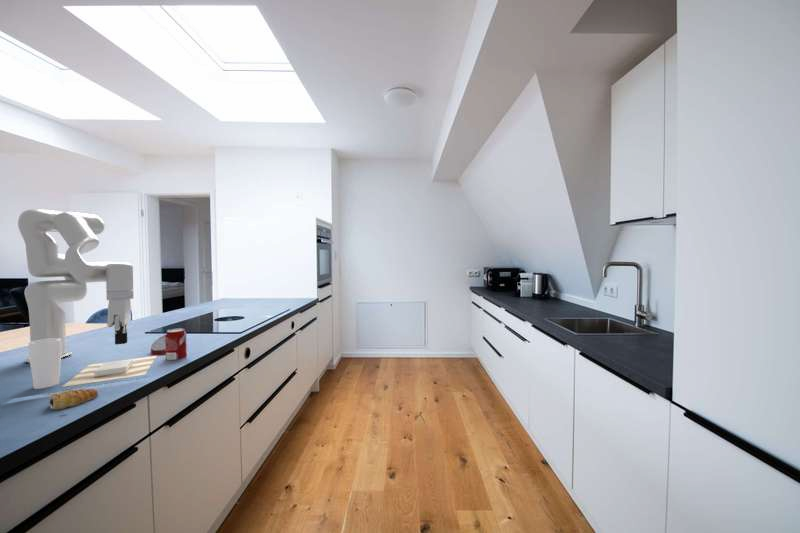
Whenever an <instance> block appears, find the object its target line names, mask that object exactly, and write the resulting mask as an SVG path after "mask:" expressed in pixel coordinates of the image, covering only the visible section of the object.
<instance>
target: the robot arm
mask: <svg viewBox="0 0 800 533" xmlns="http://www.w3.org/2000/svg"><path fill="white" fill-rule="evenodd" d="M17 226H18V231H19V233H20V235H21V236H22V239H23V242H24V244H25V245H24V246H25V252H26V264H27V270H28V272H29V274H30V276H32V277H35V278H62V277H63V278H64V279H59V280H58V279H55V280H40V281H34V282H33V283H32V282H31V283H29V284H28V285H27V286H26V287H25V289H24V297H25V301H26V304H27V308H28V317H29V318H28V319H29V337H30V338H29V339H30V340H29V342H32V341H35V340H41V339H48V338H61V342H62V357H65V356H68V355H70V354H72V353H73V352H72V351H70V350H67V333H66V331H67V330H66V314H65V313H66V312H65V311H64V310H63V309H62V308H61V307H60V306H59V305H58V304H62V303H63V304H64V303H72V302H73V303H74V302H79V301H81V300H83V299H84V298H85V297H86V295H87V293H88V292H87V290H88V289H87V288H88V287H87V283H99V282H103V283H104V282H106V283H105V286H106V287H105V289H106V301H108V305H107V323H106V325H107V327H108V328H112V327H113V328H114V344H115V345H116V346H117V345H123V344H124V345H125V344H127V343H128V325H129V323H131V320H132V309H131V308H132V307H131V306H132V305H131V300H132V299H134V266H133V264H132V263H130V262H115V261H85V260H84V258H83V257H82V256H81V255H83V254H86V253H89V252H91V251H93V250H95V249H96V248H97V247H98V246H99V244H100V240H99V238H98V237H97V236H98V235H100V234H102V233H103V232H104V231H105V222H104V221H103V219H102V218H101V217H99V216H98V215H96V214H92V213H91V214H89V213H82V212H74V211H57V210H49V209H28V210H25V211H24V210H23V212H21V214H20V215H19V217H18V219H17ZM49 232H50V233H59V235H61V237H62V238H63V240H64V241H65V243H66V245H68V248H67V249H66V251H65V254H62V253H61V254H60V252H59V247H58V246H59V245H58V242H57V241H56V239H54V237H53V236H52V235H50V234H49ZM70 356H71V355H70ZM62 357H61V358H62ZM68 357H69V356H68ZM65 358H66V357H65ZM62 359H63V358H62ZM24 362H25V363H26V362H28V363H27V364H30V360H29V356H28V357H26V358H25V359H24Z"/></svg>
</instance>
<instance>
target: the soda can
mask: <svg viewBox="0 0 800 533" xmlns="http://www.w3.org/2000/svg"><path fill="white" fill-rule="evenodd" d="M164 335H165V334H164ZM187 345H188V344H187V332H186V331H185V328H181V327H179V328H172V329H168V330H167V331H166V335H165V348H166V354H165V360H166V361H177V360H181V359H184V358H185V359H186V358H188V354H187V351H188V348H187Z"/></svg>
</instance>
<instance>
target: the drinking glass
mask: <svg viewBox="0 0 800 533" xmlns="http://www.w3.org/2000/svg"><path fill="white" fill-rule="evenodd" d="M28 357H29V360H30V363H29V366H30V370H31V376H32V377H31V378H32V383H33V389H35V390H39V389H47V388H50V387H54V386H57V385H59V384H60V382H61V379H60V378H61V367H62V359H61V357H62V342H61V338H48V339H41V340H35V341H32V342H30V341H29V342H28Z"/></svg>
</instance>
